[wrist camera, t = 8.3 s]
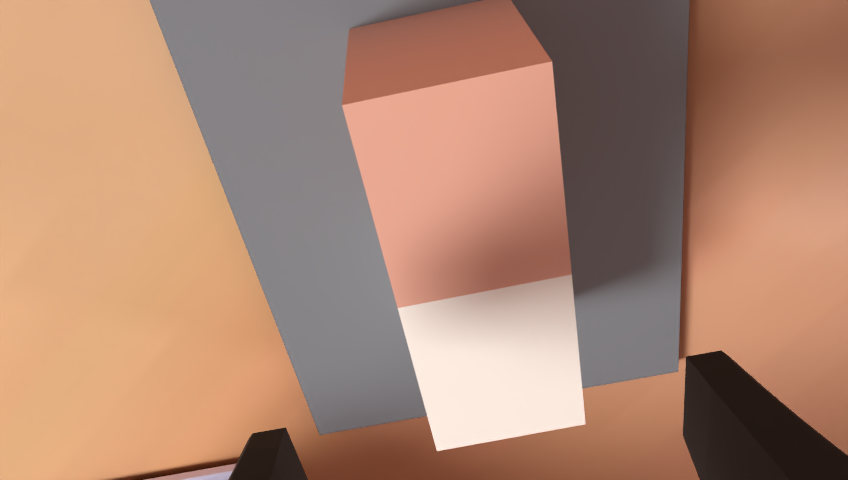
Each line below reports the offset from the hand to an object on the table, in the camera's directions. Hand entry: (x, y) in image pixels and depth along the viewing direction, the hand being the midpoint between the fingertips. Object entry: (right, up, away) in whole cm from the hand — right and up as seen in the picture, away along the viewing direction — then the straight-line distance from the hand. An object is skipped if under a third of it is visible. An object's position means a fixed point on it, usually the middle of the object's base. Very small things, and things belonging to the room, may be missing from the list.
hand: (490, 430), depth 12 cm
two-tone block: (0, +5, +7) cm, 9 cm away
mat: (0, +5, +8) cm, 9 cm away
